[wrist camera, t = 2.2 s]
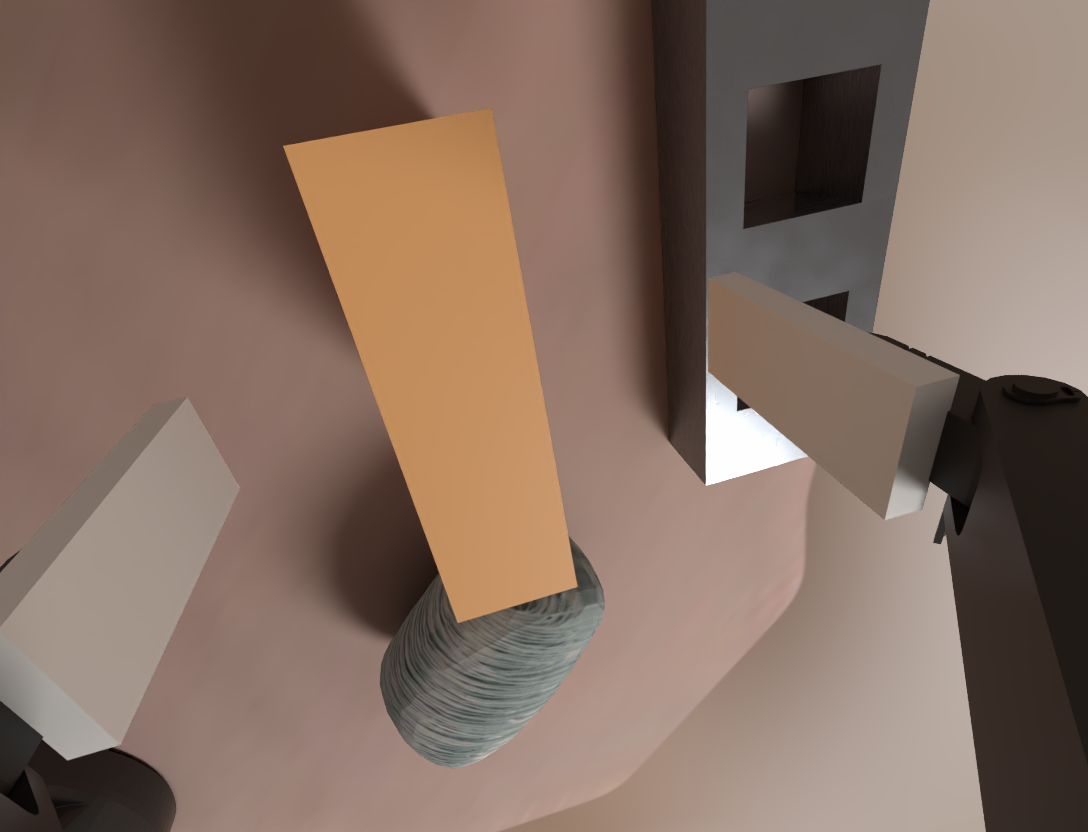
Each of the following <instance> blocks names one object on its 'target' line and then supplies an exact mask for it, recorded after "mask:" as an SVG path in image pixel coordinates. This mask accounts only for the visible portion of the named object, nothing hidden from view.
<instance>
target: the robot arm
mask: <svg viewBox="0 0 1088 832" xmlns="http://www.w3.org/2000/svg"><path fill="white" fill-rule="evenodd" d="M708 372H709V373H710V374H711V375H713V376H714V377H715V378H716V379H717V380H719V381H720V382H721V383H722V384H723V385H724V386H726V387H727V388H728V389H729V390H730V391H732V392H733V393H734V394H735V395H736V396H738V397H739V398H740V399H741V400H742V401H743V402H745V403H746V404H747V405H748V406H749V407H751V408H752V409H753V410H754V411H755V412H757V413H758V414H759V415H760V416H761V417H763V418H764V419H765V420H766V421H767V422H768V423H770V424H771V425H772V426H773V427H774V428H776V429H777V430H778V431H779V432H780V433H782V434H783V435H784V436H785V437H786V438H788V439H789V440H790V441H791V442H792V443H793V444H795V445H796V446H797V447H798V448H799V449H801V450H802V451H803V452H804V453H805V454H807V455H808V456H809V457H810V458H811V459H813V460H814V461H815V462H816V463H817V464H818V465H820V466H821V467H822V468H823V469H824V470H826V471H827V472H828V473H829V474H830V475H832V476H833V477H834V478H835V479H836V480H838V481H839V482H840V483H841V484H842V485H844V486H845V487H846V488H847V489H848V490H850V491H851V492H852V493H853V494H854V495H855V496H857V497H858V498H859V499H860V500H861V501H862V502H864V503H865V504H866V505H867V506H868V507H870V508H871V509H872V510H873V511H874V512H876V513H877V514H878V515H879V516H881V517H882V518H883V519H884V520H887V519H891V518H894V517H897V516H900V515H904V514H908V513H911V512H914V511H918V510H921V509H922V508H923V505H924V501H925V498H926V494H927V491H928V487H929V484H930V482H932V483H933V484H934V485H936V486H937V487H939V488H940V489H942V490H943V491H945V492H946V493H947V494H948V496H947V499H946V502H945V505H944V508H943V512H942V515H941V518H940V522H939V525H938V528H937V531H936V534H935V538H934V543H937V544H941V542H942V539H943V536H945V535H946V537H947V544H948V552H949V559H950V566H951V574H952V582H953V589H954V597H955V604H956V611H957V619H958V627H959V634H960V641H961V648H962V656H963V664H964V671H965V679H966V686H967V694H968V701H969V708H970V716H971V724H972V730H973V739H974V746H975V753H976V760H977V768H978V775H979V783H980V791H981V798H982V806H983V813H984V821H985V828H986V832H1088V397H1087V396H1086V395H1085V394H1084V393H1083V392H1082V391H1080V390H1079V389H1076V388H1074V387H1072V386H1070V385H1068V384H1066V383H1063V382H1059V381H1055V380H1052V379H1048V378H1042V377H1035V376H1028V375H1004V376H999V377H994V378H990V379H989V380H987V381H985V380H983V379H981V378H979V377H976V376H974V375H972V374H970V373H967V372H965V371H963V370H961V369H959V368H956V367H954V366H952V365H950V364H947V363H945V362H943V361H941V360H938V359H936V358H934V357H932V356H928V357H927V356H926V354H925V353H923V352H921V351H918V350H916V349H914V348H910V349H909V346H907V345H905V344H903V343H901V342H899V341H896V340H894V339H892V338H890V337H888V336H883V335H879V334H874V333H870V332H866V331H863V330H861V329H859V328H857V327H854V326H852V325H850V324H848V323H846V322H844V321H841V320H839V319H837V318H835V317H833V316H831V315H828V314H826V313H824V312H822V311H820V310H818V309H815V308H813V307H811V306H809V305H807V304H804V303H802V302H800V301H798V300H796V299H794V298H791V297H789V296H787V295H785V294H783V293H781V292H778V291H776V290H774V289H772V288H770V287H768V286H765V285H763V284H761V283H759V282H757V281H755V280H752V279H750V278H748V277H746V276H744V275H742V274H739V273H737V272H733V273H728V274H724V275H719V276H715V277H711V278H709V301H708ZM239 490H240V488H239V486H238V484H237V482H236V481H235V479H234V477H233V475H232V474H231V472H230V470H229V468H228V467H227V465H226V463H225V462H224V460H223V458H222V456H221V455H220V453H219V451H218V449H217V448H216V446H215V444H214V443H213V441H212V439H211V437H210V436H209V434H208V432H207V430H206V429H205V427H204V425H203V423H202V422H201V420H200V418H199V417H198V415H197V413H196V411H195V410H194V408H193V406H192V404H191V403H190V401H189V399H188V398H187V397H186V398H181V399H177V400H172V401H168V402H164V403H159V404H155V405H153V406H152V407H151V408H150V409H149V410H148V411H147V412H146V413H145V414H144V415H143V417H142V418H141V419H140V420H139V421H138V422H137V423H136V424H135V425H134V426H133V427H132V429H131V430H130V431H129V432H128V433H127V434H126V435H125V436H124V437H123V438H122V440H121V441H120V442H119V443H118V444H117V445H116V446H115V447H114V448H113V449H112V451H111V452H110V453H109V454H108V455H107V456H106V457H105V458H104V459H103V460H102V462H101V463H100V464H99V465H98V466H97V467H96V468H95V469H94V470H93V471H92V473H91V474H90V475H89V476H88V477H87V478H86V479H85V480H84V481H83V482H82V483H81V485H80V486H79V487H78V488H77V489H76V490H75V491H74V492H73V493H72V494H71V496H70V497H69V498H68V499H67V500H66V501H65V502H64V503H63V504H62V505H61V507H60V508H59V509H58V510H57V511H56V512H55V513H54V514H53V515H52V516H51V518H50V519H49V520H48V521H47V522H46V523H45V524H44V525H43V526H42V527H41V528H40V530H39V531H38V532H37V533H36V534H35V535H34V536H33V537H32V538H31V539H30V541H29V542H28V543H27V544H26V545H25V546H24V547H23V548H22V549H21V550H20V551H18V552H17V553H16V554H14V555H13V556H12V557H11V558H9V559H8V560H7V561H6V562H5V563H4V564H3V565H2V566H1V567H0V832H170V830H171V827H172V824H173V821H174V818H175V814H176V802H175V798H174V795H173V793H172V791H171V789H170V788H169V786H168V785H167V784H166V782H165V781H164V780H163V779H162V778H161V777H160V776H159V775H157V774H156V773H155V772H154V771H152V770H151V769H149V768H148V767H146V766H144V765H143V764H141V763H139V762H137V761H135V760H133V759H130V758H128V757H126V756H123V755H120V754H118V753H115V752H111V751H108V750H105V749H108V748H111V747H115V746H118V745H121V743H122V741H123V738H124V736H125V734H126V732H127V730H128V728H129V726H130V723H131V721H132V719H133V717H134V715H135V713H136V711H137V708H138V706H139V704H140V702H141V700H142V698H143V696H144V693H145V691H146V689H147V687H148V685H149V683H150V681H151V678H152V676H153V674H154V672H155V670H156V668H157V666H158V663H159V661H160V659H161V657H162V655H163V653H164V650H165V648H166V646H167V644H168V642H169V640H170V638H171V635H172V633H173V631H174V629H175V627H176V625H177V623H178V620H179V618H180V616H181V614H182V612H183V610H184V608H185V605H186V603H187V601H188V599H189V597H190V595H191V593H192V590H193V588H194V586H195V584H196V582H197V580H198V578H199V575H200V573H201V571H202V569H203V567H204V565H205V563H206V560H207V558H208V556H209V554H210V552H211V550H212V547H213V545H214V543H215V541H216V539H217V537H218V535H219V532H220V530H221V528H222V526H223V524H224V522H225V520H226V517H227V515H228V513H229V511H230V509H231V507H232V505H233V502H234V500H235V498H236V496H237V494H238V492H239Z"/></svg>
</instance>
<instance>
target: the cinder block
mask: <svg viewBox="0 0 1088 832" xmlns="http://www.w3.org/2000/svg"><path fill="white" fill-rule="evenodd" d="M929 1H930V0H652V15H653V40H654V64H655V88H656V113H657V137H658V161H659V186H660V210H661V234H662V258H663V283H664V307H665V331H666V356H667V380H668V404H669V429H670V444H671V445H672V446H673V447H674V448H675V450H676V451H677V452H678V453H679V454H680V455H681V457H682V458H683V459H684V460H685V461H686V463H687V464H688V465H689V466H690V467H691V468H692V470H693V471H694V472H695V473H696V474H697V475H698V477H699V478H700V479H701V480H702V481H703V483H704V484H705V485H710V484H713V483H716V482H720V481H723V480H727V479H730V478H734V477H737V476H741V475H744V474H748V473H751V472H755V471H758V470H762V469H765V468H769V467H772V466H776V465H779V464H783V463H786V462H790V461H793V460H797V459H800V458H804V457H807V456H808V455H807V454H805V453H804V452H803V451H802V450H801V449H799V448H798V447H797V446H796V445H795V444H793V443H792V442H791V441H790V440H789V439H788V438H786V437H785V436H784V435H783V434H782V433H780V432H779V431H778V430H777V429H776V428H774V427H773V426H772V425H771V424H770V423H768V422H767V421H766V420H765V419H764V418H763V417H761V416H760V415H759V414H758V413H757V412H755V411H754V410H753V409H752V408H751V407H749V406H748V405H747V404H746V403H745V402H743V401H742V400H741V399H740V398H739V397H738V396H736V395H735V394H734V393H733V392H732V391H730V390H729V389H728V388H727V387H726V386H724V385H723V384H722V383H721V382H720V381H719V380H717V379H716V378H715V377H714V376H713V375H711V374H710V373H709V372H708V301H709V278H711V277H715V276H719V275H724V274H728V273H733V272H737V273H739V274H742V275H744V276H746V277H748V278H750V279H752V280H755V281H757V282H759V283H761V284H763V285H765V286H768V287H770V288H772V289H774V290H776V291H778V292H781V293H783V294H785V295H787V296H789V297H791V298H794V299H796V300H798V301H800V302H802V303H804V304H807V305H809V306H811V307H813V308H815V309H818V310H820V311H822V312H824V313H826V314H828V315H831V316H833V317H835V318H837V319H839V320H841V321H844V322H846V323H848V324H850V325H852V326H854V327H857V328H859V329H861V330H863V331H866V332H870V333H872V331H873V326H874V319H875V313H876V308H877V303H878V297H879V291H880V285H881V279H882V274H883V267H884V262H885V256H886V250H887V245H888V239H889V233H890V227H891V221H892V216H893V210H894V204H895V198H896V192H897V187H898V181H899V175H900V169H901V164H902V157H903V152H904V146H905V140H906V135H907V128H908V122H909V117H910V111H911V106H912V100H913V94H914V88H915V82H916V76H917V71H918V65H919V59H920V54H921V48H922V41H923V36H924V30H925V25H926V18H927V13H928V7H929ZM801 79H805V84H804V97H803V109H802V121H801V134H800V146H799V158H798V170H797V183H796V192H793V193H788V194H783V195H779V196H774V197H770V198H765V199H761V200H756V201H751V202H747V203H744V194H745V166H746V138H747V109H748V89H753V88H758V87H764V86H769V85H774V84H779V83H785V82H790V81H795V80H801Z"/></svg>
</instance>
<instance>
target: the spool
mask: <svg viewBox="0 0 1088 832" xmlns="http://www.w3.org/2000/svg"><path fill="white" fill-rule="evenodd" d="M568 537H569V536H568ZM569 542H570V548H571V553H572V559H573V565H574V570H575V576H576V581H577V587H576V588H572V589H569V590H566V591H562V592H559V593H556V594H552V595H549V596H546V597H543V598H539V599H536V600H533V601H529V602H526V603H523V604H519V605H516V606H513V607H509V608H506V609H503V610H500V611H496V612H493V613H490V614H486V615H483V616H480V617H476V618H473V619H470V620H466V621H463V622H460V623H458V622H457V620H456V617H455V614H454V611H453V609H452V606H451V603H450V601H449V598H448V595H447V592H446V590H445V587H444V584H443V581H442V579H441V576H440V573H438V575H437V576H436V577H435V578H434V580H433V581H432V582H431V584H430V585H429V587H428V588H427V590H426V591H425V593H424V594H423V595H422V597H421V598H420V599H419V601H418V602H417V603H416V604H415V605H414V607H413V608H412V610H411V611H410V613H409V614H408V616H407V617H406V619H405V620H404V622H403V623H402V625H401V627H400V628H399V630H398V632H397V633H396V635H395V636H394V638H393V639H392V641H391V642H390V644H389V646H388V648H387V650H386V652H385V654H384V657H383V660H382V664H381V674H380V687H381V691H382V695H383V699H384V702H385V705H386V709H387V712H388V714H389V716H390V718H391V719H392V721H393V723H394V725H395V726H396V728H397V730H398V731H399V733H400V734H401V736H402V738H403V739H404V740H405V741H406V742H407V744H408V745H409V746H410V747H411V748H413V749H414V750H415V751H416V752H417V753H418V754H419V755H421V756H422V757H424V758H426V759H427V760H429V761H431V762H433V763H435V764H437V765H440V766H445V767H449V768H459V767H463V766H467V765H469V764H472V763H475V762H477V761H480V760H482V759H484V758H485V757H487V756H488V755H490V754H491V753H493V752H494V751H496V750H497V749H499V748H500V747H502V746H503V745H505V744H506V743H507V742H508V741H510V740H511V739H512V738H514V737H515V736H516V734H517V733H518V732H519V731H520V730H521V729H522V728H523V727H524V726H525V725H526V724H527V723H528V722H529V721H530V720H531V719H532V718H533V717H534V716H535V715H536V714H537V713H538V712H539V711H540V710H541V709H542V707H543V706H544V705H545V704H546V702H547V701H548V700H549V699H550V697H551V696H552V695H553V694H554V693H555V692H556V690H557V688H558V687H559V685H560V684H561V682H562V681H563V680H564V678H565V677H566V676H567V674H568V673H569V672H570V671H571V669H572V668H573V666H574V664H575V663H576V661H577V660H578V658H579V656H580V655H581V653H582V652H583V651H584V649H585V648H586V645H587V644H588V642H589V640H590V639H591V637H592V636H593V634H594V632H595V630H596V628H597V627H598V626H599V625H600V622H601V620H602V618H603V615H604V604H605V601H604V595H603V589H602V587H601V584H600V582H599V579H598V577H597V575H596V573H595V571H594V569H593V567H592V565H591V564H590V562H589V560H588V559H587V557H586V556H585V555H584V553H583V552H582V551H581V549H580V548H579V547H578V546H577V545H576V544H575V542H574V541H573V540H572V539H571V538H570V537H569Z"/></svg>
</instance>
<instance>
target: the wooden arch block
mask: <svg viewBox="0 0 1088 832" xmlns="http://www.w3.org/2000/svg"><path fill="white" fill-rule="evenodd" d="M283 147H284V150H285V152H286V155H287V158H288V161H289V163H290V166H291V169H292V172H293V174H294V177H295V180H296V183H297V185H298V188H299V191H300V193H301V196H302V199H303V202H304V204H305V207H306V210H307V213H308V215H309V218H310V221H311V224H312V226H313V229H314V232H315V234H316V237H317V240H318V243H319V245H320V248H321V251H322V254H323V256H324V259H325V262H326V264H327V267H328V270H329V273H330V275H331V278H332V281H333V284H334V286H335V289H336V292H337V295H338V297H339V300H340V303H341V305H342V308H343V311H344V314H345V316H346V319H347V322H348V325H349V327H350V330H351V333H352V336H353V338H354V341H355V344H356V346H357V349H358V352H359V355H360V357H361V360H362V363H363V366H364V368H365V371H366V374H367V377H368V379H369V382H370V385H371V387H372V390H373V393H374V396H375V398H376V401H377V404H378V407H379V409H380V412H381V415H382V418H383V420H384V423H385V426H386V428H387V431H388V434H389V437H390V439H391V442H392V445H393V448H394V450H395V453H396V456H397V458H398V461H399V464H400V467H401V469H402V472H403V475H404V478H405V480H406V483H407V486H408V489H409V491H410V494H411V497H412V499H413V502H414V505H415V508H416V510H417V513H418V516H419V519H420V521H421V524H422V527H423V530H424V532H425V535H426V538H427V540H428V543H429V546H430V549H431V551H432V554H433V557H434V560H435V562H436V565H437V568H438V571H439V573H440V576H441V579H442V581H443V584H444V587H445V590H446V592H447V595H448V598H449V601H450V603H451V606H452V609H453V611H454V614H455V617H456V620H457V622H458V623H460V622H463V621H466V620H470V619H473V618H476V617H480V616H483V615H486V614H490V613H493V612H496V611H500V610H503V609H506V608H509V607H513V606H516V605H519V604H523V603H526V602H529V601H533V600H536V599H539V598H543V597H546V596H549V595H552V594H556V593H559V592H562V591H566V590H569V589H572V588H576V587H577V581H576V576H575V570H574V565H573V559H572V553H571V548H570V542H569V537H568V531H567V526H566V520H565V514H564V509H563V503H562V498H561V492H560V487H559V481H558V475H557V470H556V464H555V459H554V453H553V447H552V442H551V436H550V431H549V425H548V420H547V414H546V408H545V403H544V397H543V392H542V386H541V381H540V375H539V369H538V364H537V358H536V353H535V347H534V342H533V336H532V330H531V325H530V319H529V314H528V308H527V303H526V297H525V291H524V286H523V280H522V275H521V269H520V264H519V258H518V252H517V247H516V241H515V236H514V230H513V224H512V219H511V213H510V208H509V202H508V197H507V191H506V185H505V180H504V174H503V169H502V163H501V158H500V152H499V146H498V141H497V135H496V130H495V124H494V119H493V113H492V108H489V109H483V110H478V111H472V112H467V113H461V114H456V115H450V116H445V117H439V118H434V119H428V120H423V121H417V122H412V123H406V124H401V125H395V126H390V127H384V128H379V129H373V130H368V131H362V132H357V133H351V134H346V135H340V136H335V137H329V138H324V139H318V140H313V141H307V142H302V143H296V144H291V145H285V146H283Z"/></svg>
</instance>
